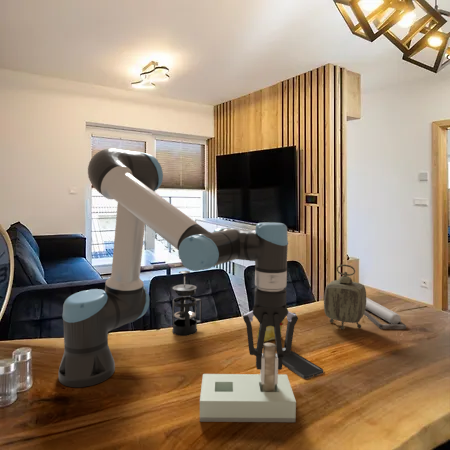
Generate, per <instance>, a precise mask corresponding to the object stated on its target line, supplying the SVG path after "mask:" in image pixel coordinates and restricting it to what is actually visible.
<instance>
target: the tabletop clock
mask: <svg viewBox="0 0 450 450" xmlns="http://www.w3.org/2000/svg"><path fill="white" fill-rule="evenodd" d="M341 267H347V268H350V269H352V270H353V272H352V273H348V272H347V271H344V272H341V271H339V268H341ZM336 272H337V274H339V275H342V276H341V277H339V279H335V280H332V281H330V282H329V283H328V284H327V285H326V286H325V288H324V289H325V290H324V294H323V295H324V296H323V310H324V314H325V316H326V317H327V318H329V322H330V323H334V322H335V321H338V322H341V325H340V326H339V328H340V330H342V331H344V330H345V326H344V324H345V323H350V324H351V323H352V324H353V323H354V324H355V323H356V327H357V329H361V328H362V325H361V324H360V323H359V322H360V321H361V319H362V318H363V316H365V315H364V313H365V310H367V309H366V297H367V291H366V287H365V285H364V284H362V283H360V282H355V281H353V279H352V278H351V276H353V275H355V273H356V270H355V267H354V266H352V265H350V264H339V265H338V266H337V267H336ZM334 320H335V321H334Z"/></svg>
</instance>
